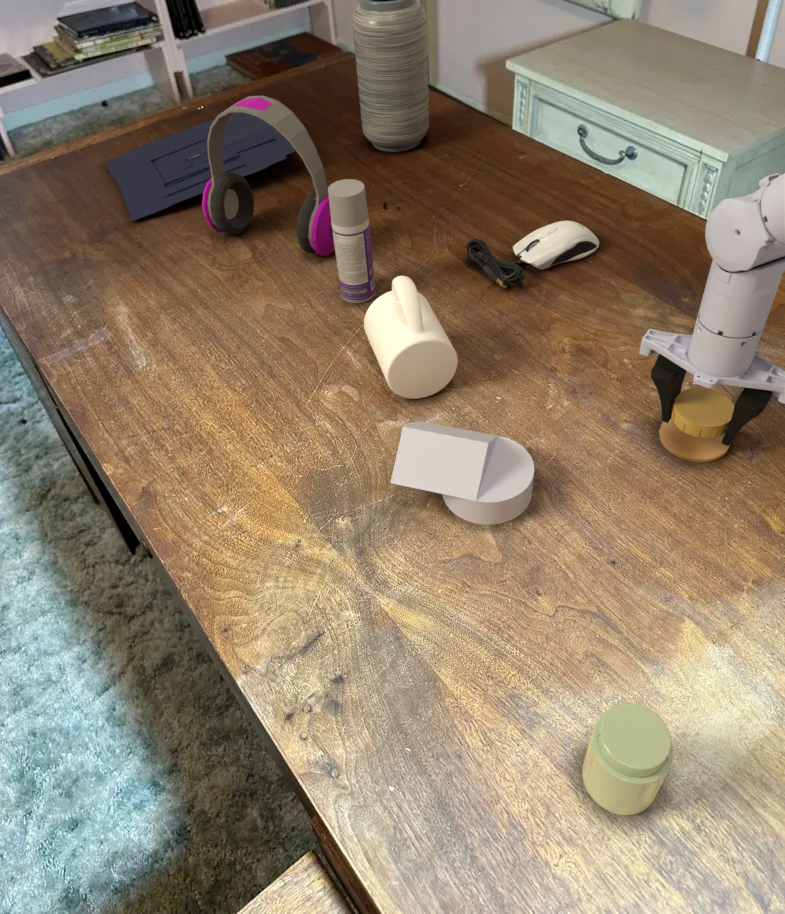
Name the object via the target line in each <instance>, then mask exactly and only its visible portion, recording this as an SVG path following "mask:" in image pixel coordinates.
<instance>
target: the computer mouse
mask: <svg viewBox="0 0 785 914" xmlns="http://www.w3.org/2000/svg"><path fill="white" fill-rule="evenodd" d="M599 247H600V240H599V238H598V237H597V236H596V234H594V233H593V231H591V230H590V229H589V228H588V227H586V226H585V225H584V224H582V223H579V222H576V221H573V220H560V221H556V222H551V223H550V224H547V225H544V226H542V227H539V228H537V229H535V230H534V231H532V232H530V233H528V234H527V235H526V236H524V237H522V238H521V239H520V240H518V241H517V242H516V243H515V244H513V245H512V250H513V253H514V254H515V256H517V257H518V259H517V260H516V261H513V262H509V261H506V260H502V259H499V258H497V257H496V256H495V255H493V253H492V251H491V250H490V247H489V245H488V244H487V243H486V242H485V240H483V239H480V238H473V239H470V240H468V242H467V244H466V258H467V259H468V260H469V261H470V262H473V263H474V264H475V265H478V266H479V268H480V269H481V270H482V271H483V272H484V273H485V274H486V276H487V277H489V278H490V279H491V280H492V281H493V283H496V284H498V285H499V286H500V287H502V288H504V289H507V288H508V286H509V285H513V286H519V285H520V282H522V281H524V279H525V275H526V274H525V272H524V269H523V268H522V267H521V266H520V265H524V264H528V265H530V266H532V267H534V268H536V269H538V270H540V271H541V270H542V271H543V270H547V269H549V268H551V267H553V266H556V265H560V264H563V263H568V262H573V261H577V260H581V259H583V258H586V257H588V256H590V255H592V254H594V253H595V252H596V251H597V249H598V248H599ZM478 252H480V253H478Z"/></svg>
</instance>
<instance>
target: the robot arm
mask: <svg viewBox="0 0 785 914" xmlns="http://www.w3.org/2000/svg"><path fill="white" fill-rule="evenodd" d="M758 185H759V187H758V188H757V189H756V190H755V191H754V192H752V193H748V194H745V195H742V196H739V197H728V198H724V199H722V200H721V201H720V202H719V204H717V206H715V207H714V208H713V209H712V211H711V212H710V213H709V215H708V216H707V220H706V224H705V228H704V230H705V231H704V237H705V244H706V249H707V251H708V253H709V256H710V257H711V259H712V261H711V264H710V268H709V271H708V276H707V280H706V282H705V287H704V291H703V294H702V298H701V302H700V306H699V308H698V312H697V317H696V320H695V323H694V327H693V331H692V334H683V333H674V332H666V331H661V330H658V329H657V330H656V329H653V328H649V329H648V331H647V332H645V334H644V336H643V337H642V338H641V342H640V347H639V350H638V354H639V355H641V356H644V357H648V358H649V357H651V356H652V355H654V356H656V360H655V363H654V365H653V366H652V368H651V369H650V378H651V380H652V382H653V384H654V385H655V388H656V390H657V393H658V397H659V401H660V407H661V422H662V423H663V422H666V423H668V422H669V421H670V419H671V418H672V417H671V410H672V405H673V403H674V400H675V398H676V396H677V395H678V394H679V393H680V392H682V387H683V383H684V381H685V378H686V375H687V372H688V374H690V375H692V376H693V378H692V382H693V383H694V384H695V385H697V386H699V387H702V388H708V389H712V390H713V389H714V388H716V387H717V385H721V386H728V387H729V386H730V387H738V388H743V389H742V391H741V393H740V394H739V396H738V397H737V399H736V401H735V402H734V410H733V414H732V418H731V421H730V424H729V427H728V429H727V431H726V433H725V435H724V437H723V440H722V444H724V445H727V446H729V444H730V445H731V443H732V441H733V439H734V438H735V436H736V435H737V434H738V432H740V430H741V429H742V428H743V427H744V426H746V424H748V423H749V422H751V421H752V420H754V418H757V417H759V416H760V415H761V414H762V413H763V412H764V410H765V409H766V407H767V405H768V404H769V402H770V400H771V398H772V397H773V396H775V397H777V402H779V403H780V404H783V405H785V370H784V369H782V368H780V367H778V366H777V365H775V364H774V363H772V362H770V361H768V360H766V359H765V358H763V357H761V356H760V355H758V354H757V353H756V352H757V349H758V346H759V343H760V341H761V337H762V335H763V332H764V329H765V325H766V323H767V320H768V318H769V315H770V312H771V309H772V306H773V303H774V300H775V298H776V294H777V292H778V289H779V286H780V283H781V281H782V278H783V275H784V273H785V172H784V173H781V174H780V173H778V172H775V173H773V174H770V175H767V176H765V177H764V178H762V179H760V180H759V182H758ZM729 447H730V446H729Z"/></svg>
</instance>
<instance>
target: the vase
mask: <svg viewBox="0 0 785 914" xmlns="http://www.w3.org/2000/svg"><path fill="white" fill-rule="evenodd" d="M351 24H352V35H353V43H354V45H353V46H354V55H355V56H354V57H355V66H356V79H357V88H358V98H359V99H358V100H359V109H360V119H361V130H362V133H363V135H364V137H365V138H366V139H367V141H369V142H370V143H371V144H372V146H373V147H374V148H375V149H376V150H378V151H380V152H381V151H382V152H387V153H400V152H401V153H402V152H406V151H409V150H412V149H414V148H416V147H418V146H419V145H420V143H421V142H422V139H423V138H424V137H425V136H426V134H427V133H428V131H429V129H430V101H429V71H428V68H429V65H428V35H427V34H428V33H427V13H426V9H425V8H424V6H423V4H422V3H421V2H420V1H419V0H359V4H358V5H357V7H356V8H355V9H354V12H353V14H352V18H351Z"/></svg>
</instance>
